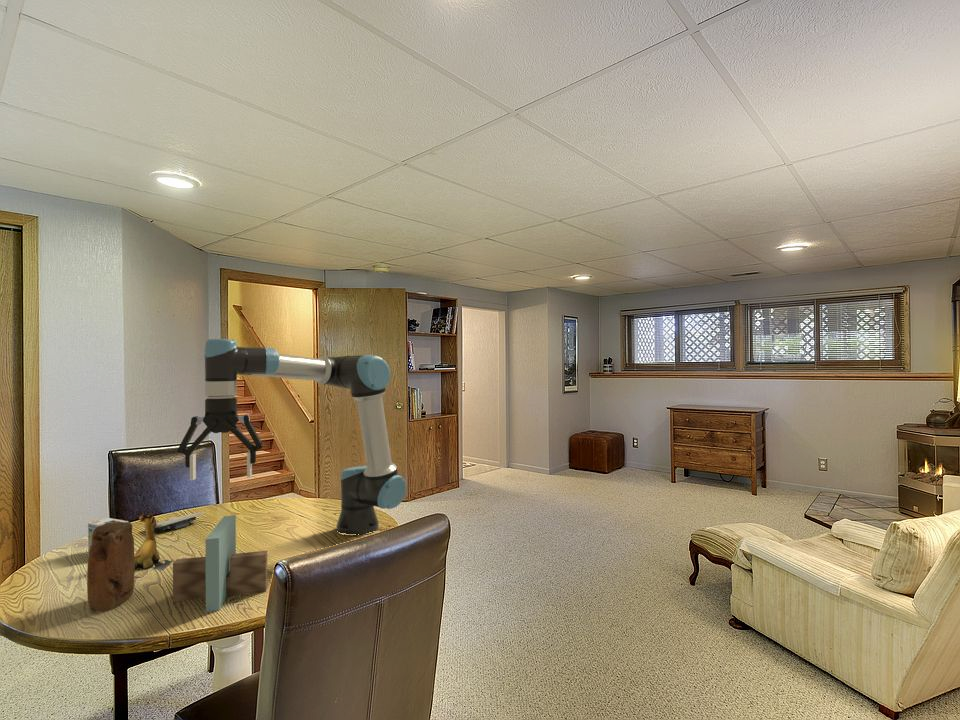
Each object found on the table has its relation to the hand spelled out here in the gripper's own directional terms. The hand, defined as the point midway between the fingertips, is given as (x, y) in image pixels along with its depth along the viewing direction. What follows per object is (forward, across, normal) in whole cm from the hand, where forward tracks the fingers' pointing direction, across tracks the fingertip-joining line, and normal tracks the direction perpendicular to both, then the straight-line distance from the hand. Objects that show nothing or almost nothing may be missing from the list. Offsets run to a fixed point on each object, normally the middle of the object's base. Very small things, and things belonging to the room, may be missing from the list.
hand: (221, 478), depth 135 cm
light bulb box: (+31, +42, -42) cm, 67 cm away
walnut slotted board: (+31, 0, 0) cm, 31 cm away
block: (+31, +26, -2) cm, 40 cm away
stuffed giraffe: (+31, +28, -27) cm, 50 cm away
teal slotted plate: (+31, 0, 0) cm, 31 cm away
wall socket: (+31, +26, -64) cm, 76 cm away
